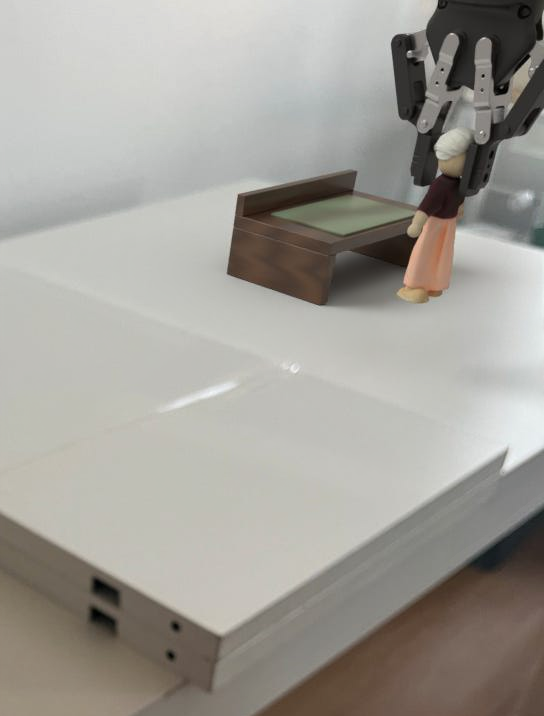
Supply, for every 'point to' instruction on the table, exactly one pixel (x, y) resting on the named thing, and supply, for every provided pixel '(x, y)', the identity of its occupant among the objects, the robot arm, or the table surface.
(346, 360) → the table surface
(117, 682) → the table surface
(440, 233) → the grandmother figurine
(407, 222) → the shelf
